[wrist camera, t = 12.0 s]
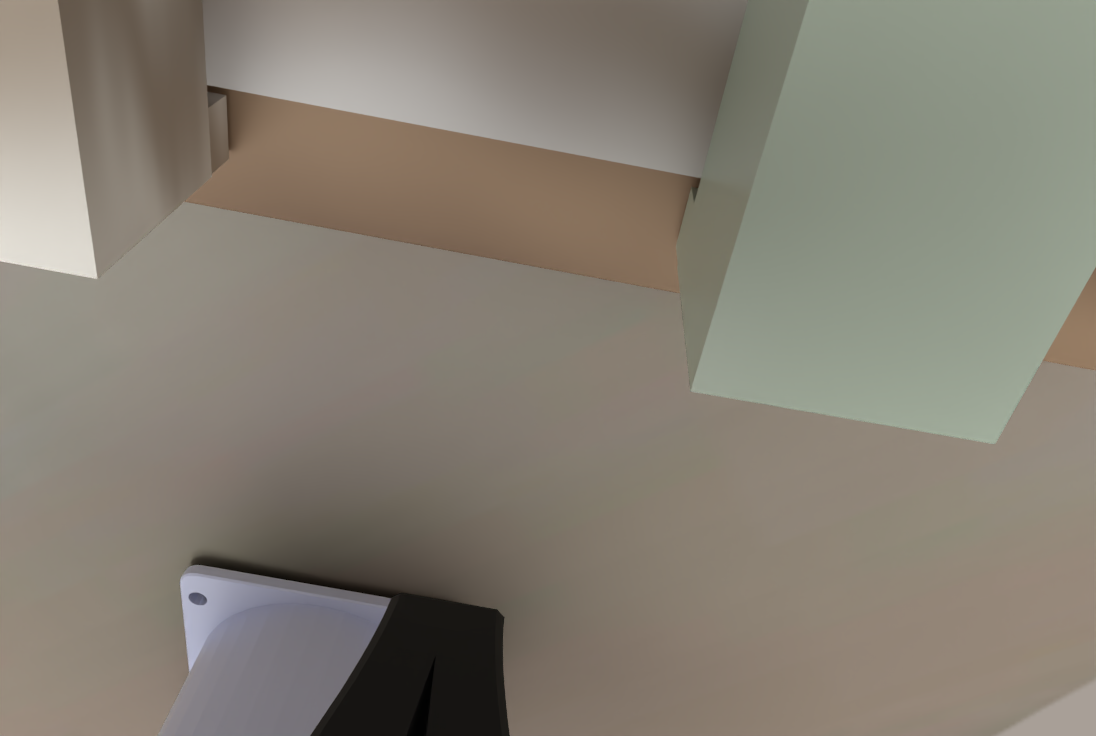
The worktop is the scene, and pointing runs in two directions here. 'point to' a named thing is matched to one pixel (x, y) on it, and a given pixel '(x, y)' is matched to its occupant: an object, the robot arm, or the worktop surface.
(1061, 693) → the worktop surface
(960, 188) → the block
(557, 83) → the rail base
